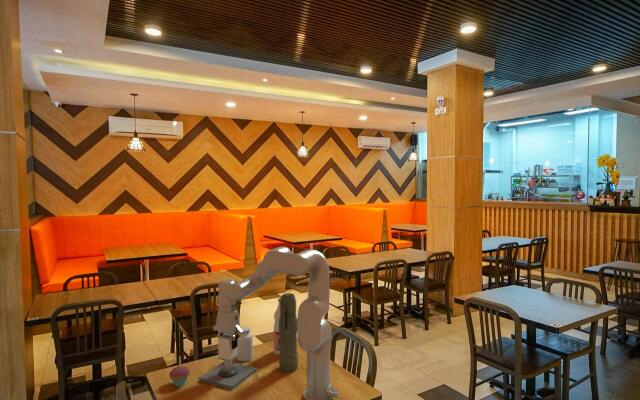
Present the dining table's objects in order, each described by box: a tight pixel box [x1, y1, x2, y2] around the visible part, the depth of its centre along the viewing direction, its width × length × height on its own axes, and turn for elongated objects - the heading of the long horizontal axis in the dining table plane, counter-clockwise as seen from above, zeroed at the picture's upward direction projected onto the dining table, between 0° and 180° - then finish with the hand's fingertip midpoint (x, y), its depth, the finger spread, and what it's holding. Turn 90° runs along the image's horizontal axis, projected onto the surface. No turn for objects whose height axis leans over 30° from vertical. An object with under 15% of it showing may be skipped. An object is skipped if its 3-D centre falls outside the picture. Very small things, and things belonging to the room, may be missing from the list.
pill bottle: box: [235, 326, 254, 362], centre depth 194 cm, size 8×8×15 cm
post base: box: [198, 360, 257, 391], centre depth 176 cm, size 18×18×12 cm
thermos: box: [278, 292, 299, 373], centre depth 183 cm, size 9×12×35 cm
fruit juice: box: [273, 297, 281, 356], centre depth 200 cm, size 9×9×28 cm
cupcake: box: [169, 354, 191, 387], centre depth 169 cm, size 9×8×12 cm
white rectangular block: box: [217, 333, 238, 362], centre depth 176 cm, size 6×6×10 cm
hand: (227, 346), depth 176 cm, fingers open, 6 cm apart
